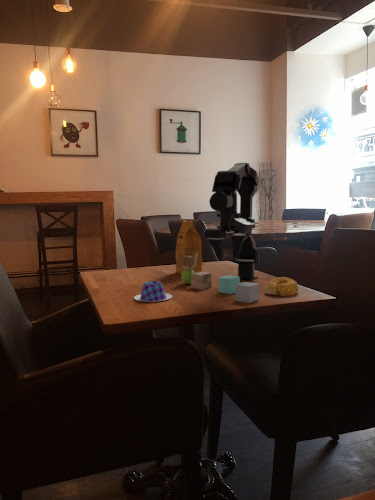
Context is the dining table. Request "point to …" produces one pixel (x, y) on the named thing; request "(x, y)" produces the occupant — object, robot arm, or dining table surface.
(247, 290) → the grey cube
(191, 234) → the coffee package
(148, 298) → the pudding
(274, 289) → the bagel
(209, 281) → the walnut block
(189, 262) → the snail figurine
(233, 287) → the teal block
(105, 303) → the dining table surface
